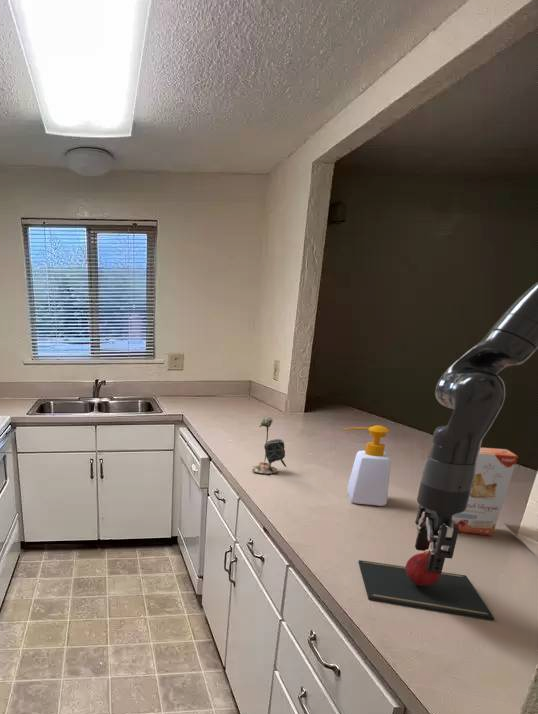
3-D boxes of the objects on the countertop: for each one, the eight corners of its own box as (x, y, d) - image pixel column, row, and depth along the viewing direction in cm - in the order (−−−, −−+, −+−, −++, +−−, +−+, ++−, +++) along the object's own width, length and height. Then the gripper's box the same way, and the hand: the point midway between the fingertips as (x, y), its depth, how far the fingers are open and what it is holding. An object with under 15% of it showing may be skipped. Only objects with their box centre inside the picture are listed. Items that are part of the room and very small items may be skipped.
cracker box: (427, 529, 109) (447, 450, 102) (420, 519, 114) (439, 443, 107) (494, 537, 105) (519, 455, 98) (483, 526, 110) (507, 447, 103)
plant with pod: (283, 477, 145) (290, 419, 138) (249, 472, 150) (254, 416, 143) (286, 470, 152) (293, 414, 145) (254, 465, 156) (259, 411, 149)
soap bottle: (330, 490, 134) (341, 420, 126) (380, 495, 130) (394, 422, 122) (333, 502, 125) (345, 427, 118) (387, 508, 121) (403, 431, 114)
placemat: (465, 577, 89) (466, 574, 89) (493, 620, 77) (494, 617, 77) (358, 562, 95) (358, 559, 95) (368, 599, 83) (369, 596, 83)
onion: (439, 597, 82) (449, 561, 79) (404, 590, 85) (412, 554, 82) (433, 581, 87) (443, 546, 84) (400, 574, 89) (409, 540, 87)
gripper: (486, 499, 71) (462, 584, 76) (457, 471, 83) (438, 545, 89) (433, 495, 73) (414, 577, 79) (412, 468, 86) (396, 540, 91)
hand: (426, 560), depth 84 cm, fingers open, 8 cm apart
